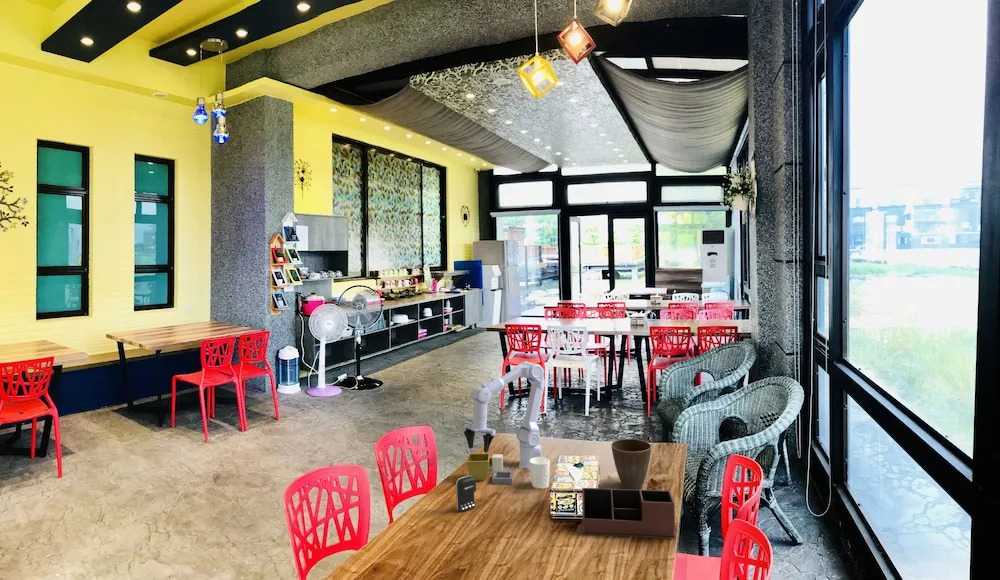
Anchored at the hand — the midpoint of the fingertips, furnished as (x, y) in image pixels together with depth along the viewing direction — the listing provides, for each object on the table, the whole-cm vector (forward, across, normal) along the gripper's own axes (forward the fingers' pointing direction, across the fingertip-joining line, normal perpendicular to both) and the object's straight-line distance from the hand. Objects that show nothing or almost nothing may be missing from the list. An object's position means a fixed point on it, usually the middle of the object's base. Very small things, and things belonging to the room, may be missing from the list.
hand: (478, 449), depth 228 cm
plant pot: (+7, +58, +21) cm, 62 cm away
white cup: (+10, +27, +4) cm, 29 cm away
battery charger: (+13, +14, -26) cm, 32 cm away
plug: (+10, +4, +10) cm, 14 cm away
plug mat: (+10, +4, +10) cm, 15 cm away
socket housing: (+10, +12, +2) cm, 16 cm away
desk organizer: (+10, +68, -12) cm, 70 cm away
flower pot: (+11, +2, -1) cm, 12 cm away
